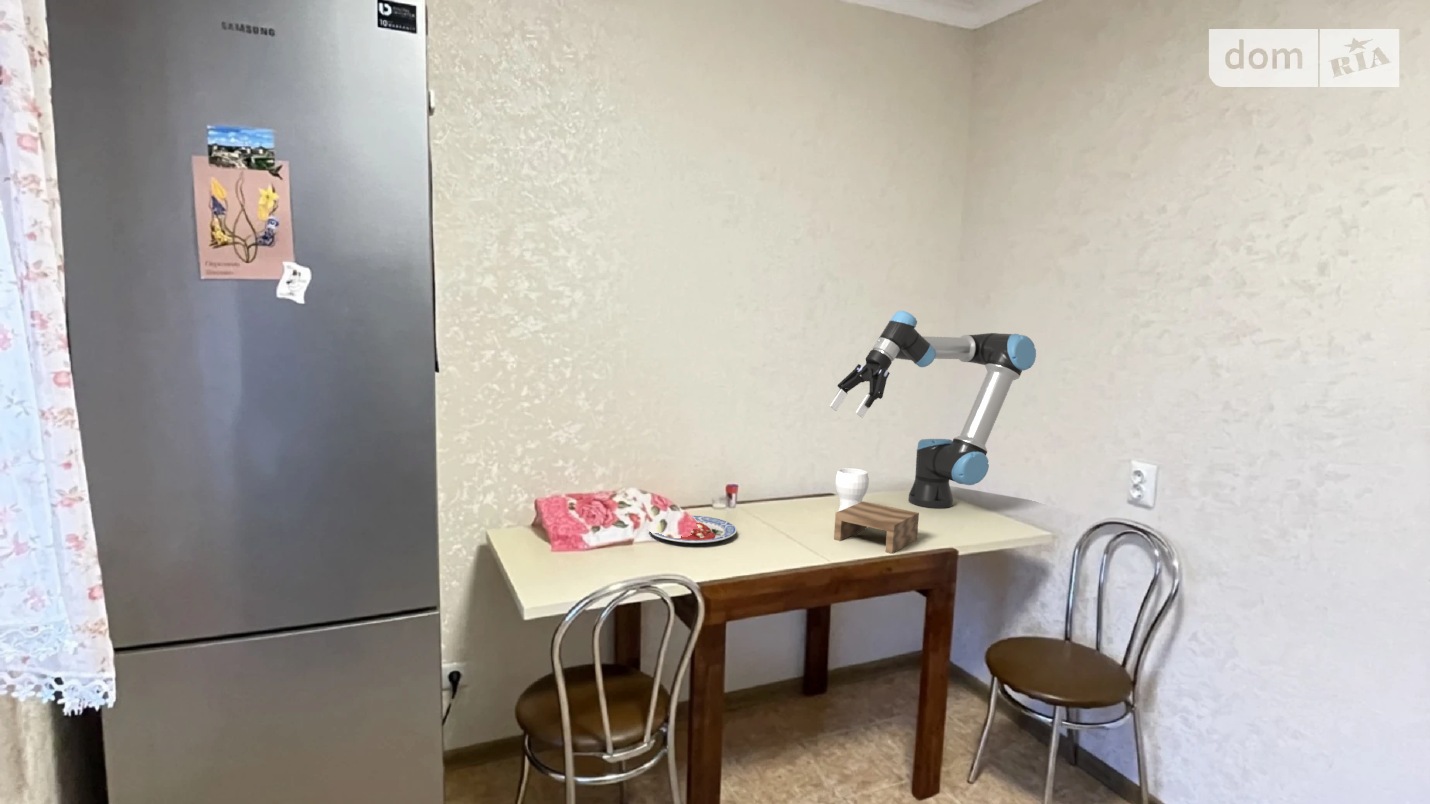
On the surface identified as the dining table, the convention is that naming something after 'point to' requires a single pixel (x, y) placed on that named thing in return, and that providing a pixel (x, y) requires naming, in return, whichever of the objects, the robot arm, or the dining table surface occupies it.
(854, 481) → the cup
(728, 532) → the ceramic plate
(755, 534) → the dining table surface
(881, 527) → the walnut shelf
